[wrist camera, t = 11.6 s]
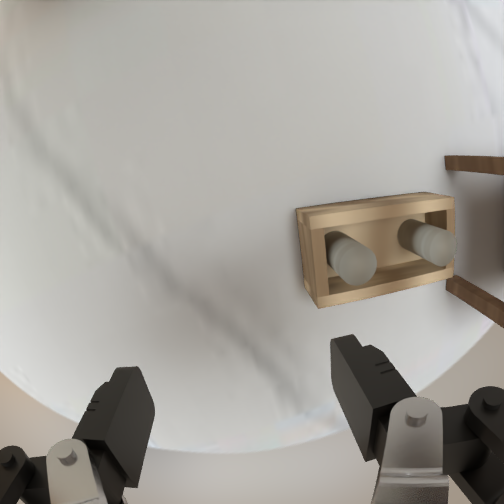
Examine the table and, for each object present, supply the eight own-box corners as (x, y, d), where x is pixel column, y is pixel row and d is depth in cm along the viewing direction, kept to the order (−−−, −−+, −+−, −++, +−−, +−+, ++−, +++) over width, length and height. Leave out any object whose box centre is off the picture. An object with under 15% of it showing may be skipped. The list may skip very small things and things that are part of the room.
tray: (304, 286, 24) (324, 319, 18) (295, 208, 22) (316, 221, 17) (426, 262, 24) (465, 284, 19) (424, 191, 23) (468, 200, 17)
